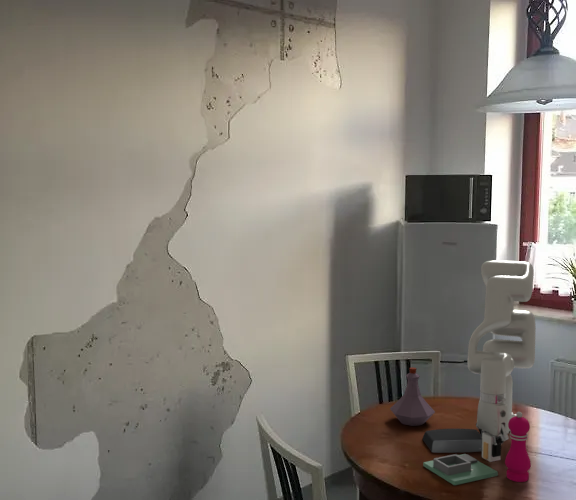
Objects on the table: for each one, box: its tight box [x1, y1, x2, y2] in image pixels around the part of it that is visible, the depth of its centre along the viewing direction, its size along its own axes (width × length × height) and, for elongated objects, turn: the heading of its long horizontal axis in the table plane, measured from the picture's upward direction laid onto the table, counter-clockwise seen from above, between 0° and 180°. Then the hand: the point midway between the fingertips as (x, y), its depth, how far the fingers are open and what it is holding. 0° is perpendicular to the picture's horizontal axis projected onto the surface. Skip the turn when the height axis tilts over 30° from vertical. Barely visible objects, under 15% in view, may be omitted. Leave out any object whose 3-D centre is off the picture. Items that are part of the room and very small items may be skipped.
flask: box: [389, 366, 436, 427], centre depth 247 cm, size 16×16×20 cm
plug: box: [481, 432, 501, 463], centre depth 213 cm, size 4×4×8 cm
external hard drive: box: [422, 428, 482, 454], centre depth 225 cm, size 13×19×4 cm
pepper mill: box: [504, 411, 532, 483], centre depth 198 cm, size 7×7×20 cm
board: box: [422, 453, 499, 486], centre depth 204 cm, size 16×15×4 cm
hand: (491, 452), depth 213 cm, fingers closed on plug, 3 cm apart
